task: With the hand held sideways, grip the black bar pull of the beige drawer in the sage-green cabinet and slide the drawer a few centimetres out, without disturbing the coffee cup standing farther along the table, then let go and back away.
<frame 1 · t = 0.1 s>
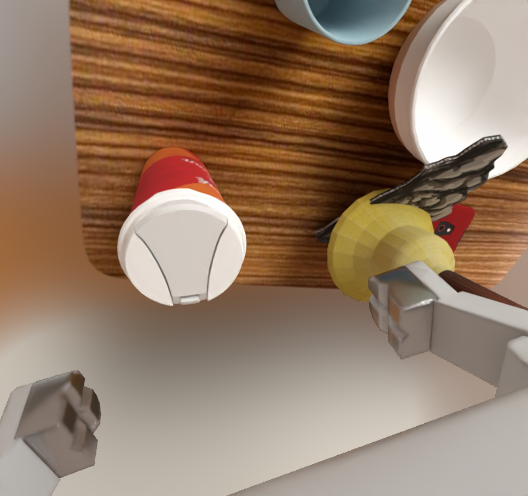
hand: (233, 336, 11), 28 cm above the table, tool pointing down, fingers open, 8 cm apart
cell phone: (427, 259, 48), point 1 cm above the table
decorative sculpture: (379, 190, 35), point 6 cm above the table, touching bowl, handbell
handbell: (380, 247, 40), point 5 cm above the table, touching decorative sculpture
coffee cup: (174, 176, 37), on the table
bowl: (439, 76, 38), on the table, touching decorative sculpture
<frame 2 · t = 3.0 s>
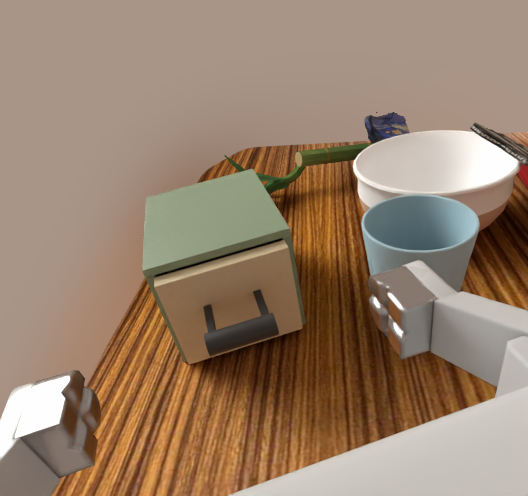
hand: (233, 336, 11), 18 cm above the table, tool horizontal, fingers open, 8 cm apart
beige drawer: (228, 281, 34), point 5 cm above the table, slide at 0.0 cm, touching cabinet
cabinet: (233, 297, 40), on the table
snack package: (405, 133, 58), point 4 cm above the table
cup: (412, 325, 33), on the table
bowl: (427, 223, 44), on the table, touching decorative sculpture
decorative plant: (325, 181, 58), on the table
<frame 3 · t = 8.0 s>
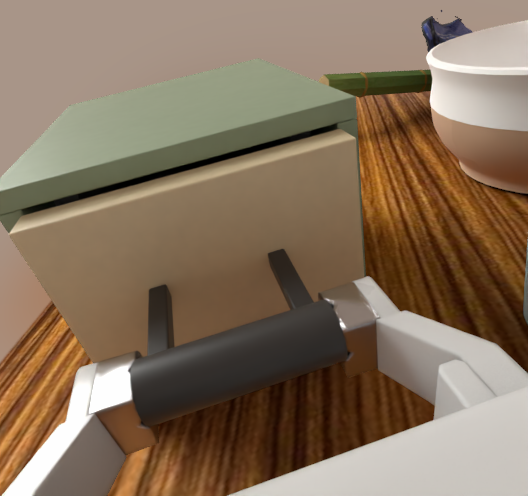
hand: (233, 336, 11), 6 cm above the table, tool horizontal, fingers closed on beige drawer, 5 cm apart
beige drawer: (212, 242, 17), point 5 cm above the table, slide at 0.0 cm, touching gripper
cabinet: (227, 282, 23), on the table
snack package: (471, 57, 41), point 4 cm above the table
decorative plant: (359, 125, 41), on the table
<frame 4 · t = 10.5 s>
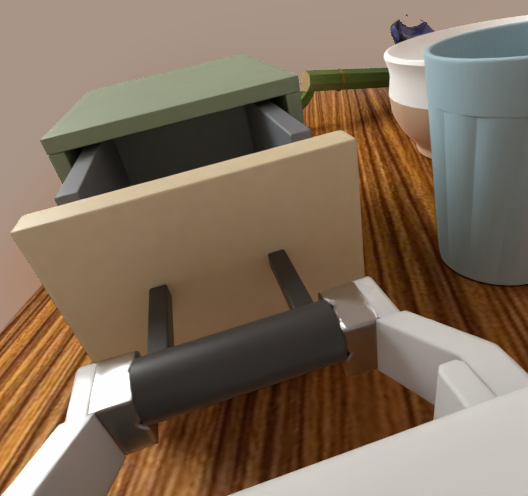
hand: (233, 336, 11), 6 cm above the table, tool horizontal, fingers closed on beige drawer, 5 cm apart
beige drawer: (213, 243, 17), point 5 cm above the table, slide at 6.0 cm, touching gripper
cabinet: (215, 235, 28), on the table
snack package: (438, 56, 46), point 4 cm above the table
cup: (494, 256, 21), on the table
bowl: (484, 142, 32), on the table, touching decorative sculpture
decorative plant: (339, 116, 46), on the table
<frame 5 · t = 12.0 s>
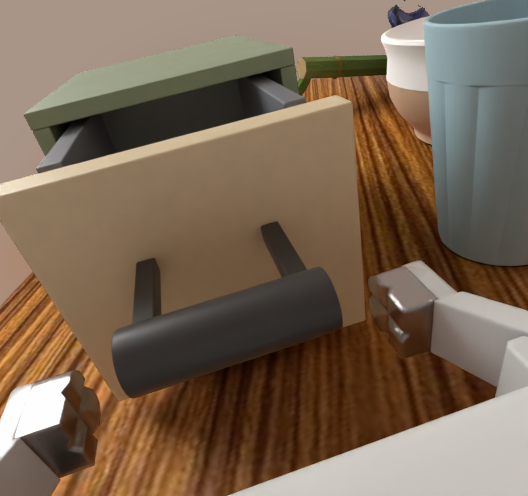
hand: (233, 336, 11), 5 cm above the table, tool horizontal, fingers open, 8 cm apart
beige drawer: (205, 221, 16), point 5 cm above the table, slide at 6.0 cm
cabinet: (209, 222, 27), on the table
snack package: (436, 43, 46), point 4 cm above the table
cup: (495, 238, 20), on the table
bowl: (484, 127, 32), on the table, touching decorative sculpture
decorative plant: (335, 105, 45), on the table
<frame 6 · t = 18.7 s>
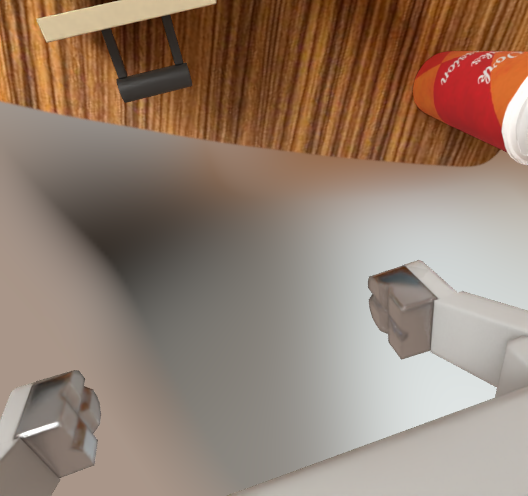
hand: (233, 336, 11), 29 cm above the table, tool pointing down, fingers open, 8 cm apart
coffee cup: (437, 83, 39), on the table
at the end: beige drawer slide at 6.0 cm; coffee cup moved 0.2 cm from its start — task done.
